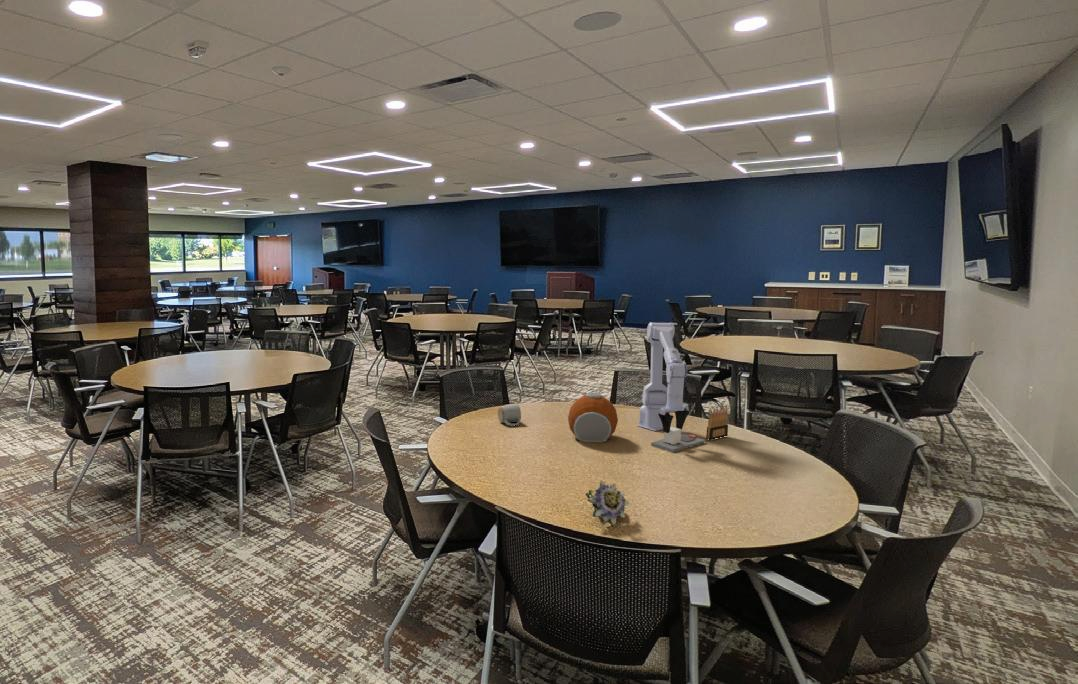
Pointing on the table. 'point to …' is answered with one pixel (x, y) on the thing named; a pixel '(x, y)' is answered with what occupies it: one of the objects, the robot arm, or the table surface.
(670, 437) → the plug
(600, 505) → the passion flower
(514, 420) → the ceramic mug
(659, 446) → the socket strip
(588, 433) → the alarm clock
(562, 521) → the table surface
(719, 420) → the ammunition clip
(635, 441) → the table surface
